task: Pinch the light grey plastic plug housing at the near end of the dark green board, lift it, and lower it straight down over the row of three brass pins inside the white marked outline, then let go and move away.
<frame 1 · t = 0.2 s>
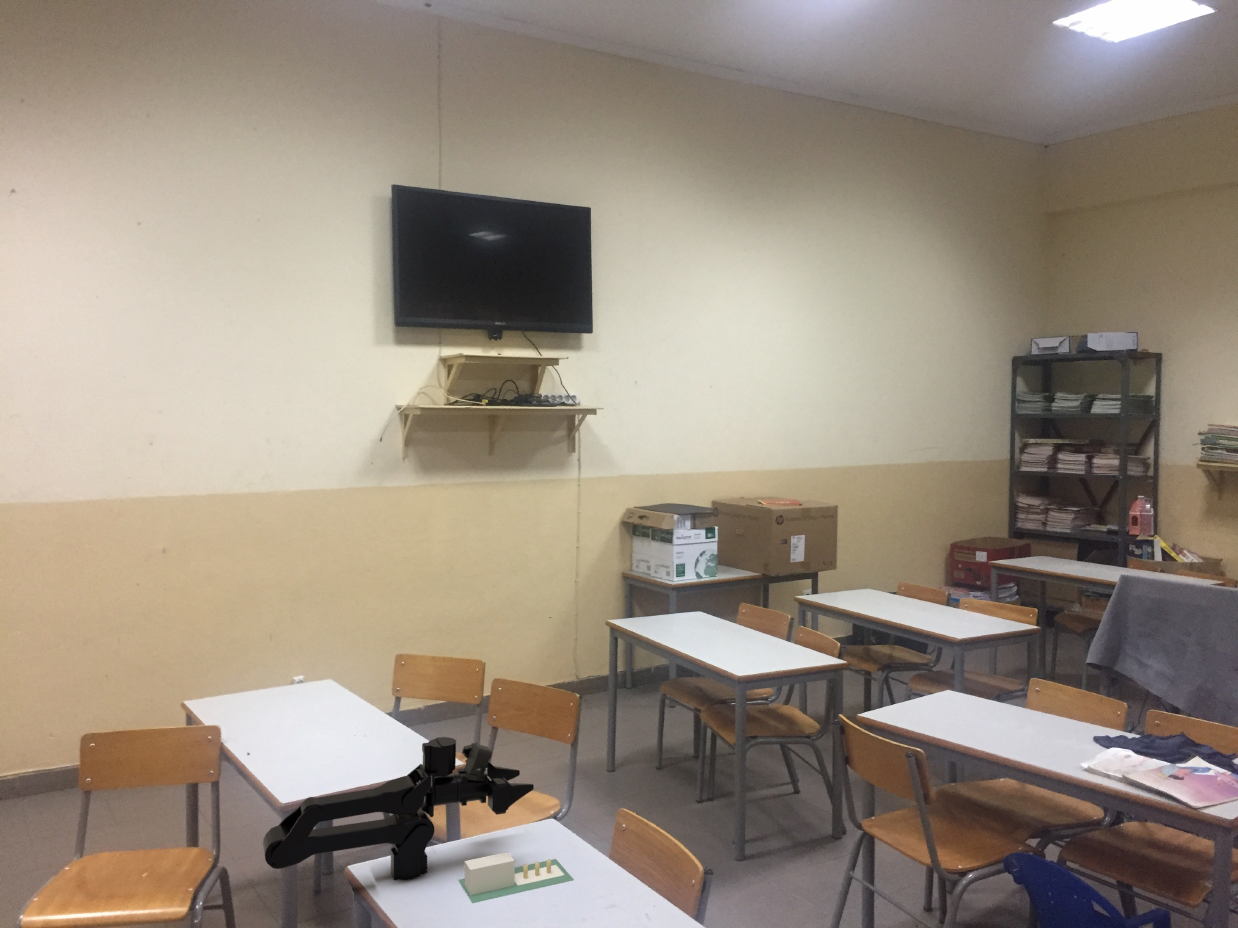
hand: (526, 779, 197), 16 cm above the table, tool horizontal, fingers open, 9 cm apart
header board: (516, 884, 185), on the table
plug housing: (489, 885, 182), point 1 cm above the table, touching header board
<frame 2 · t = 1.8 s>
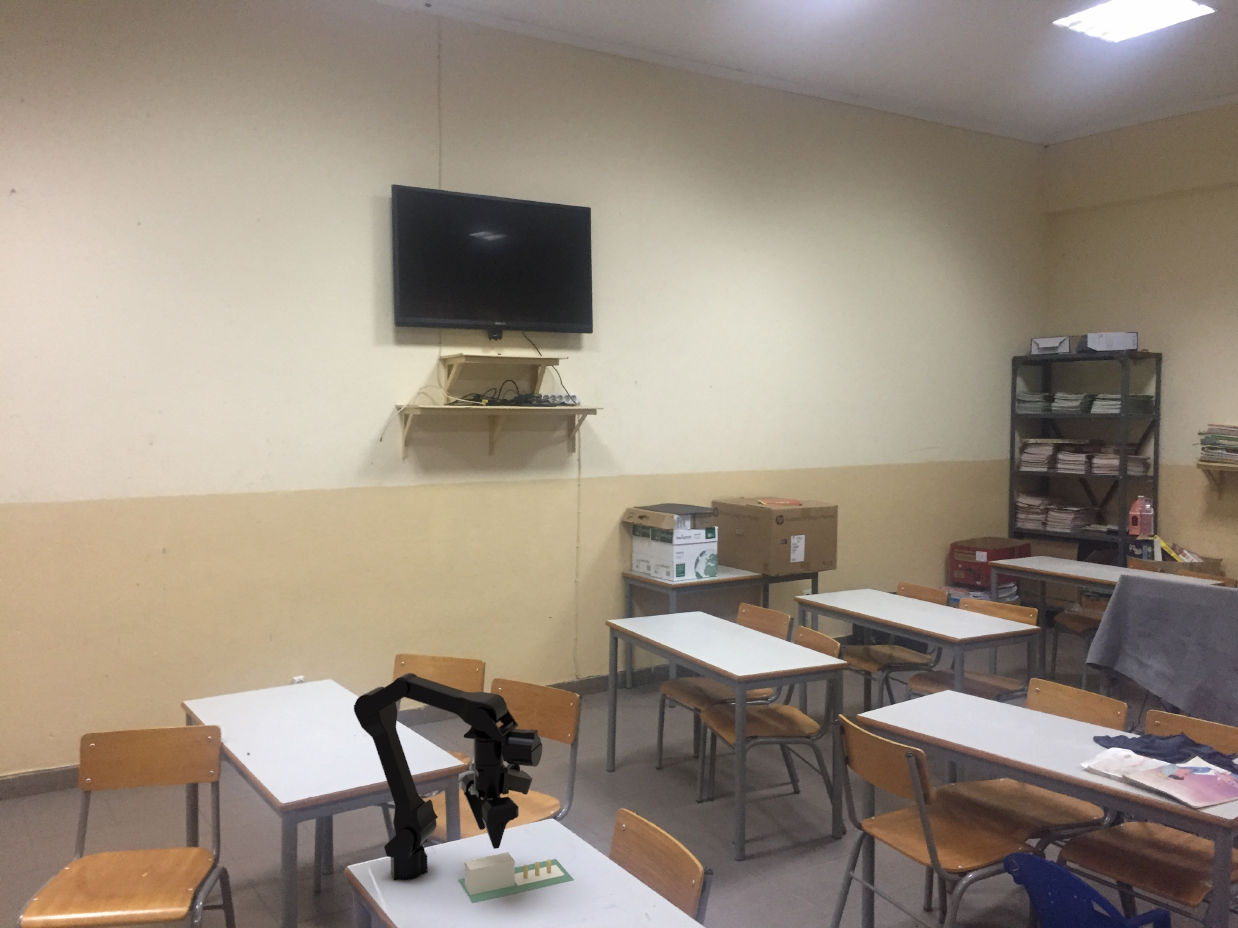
hand: (489, 838, 182), 10 cm above the table, tool pointing down, fingers open, 9 cm apart
nothing on the table moved.
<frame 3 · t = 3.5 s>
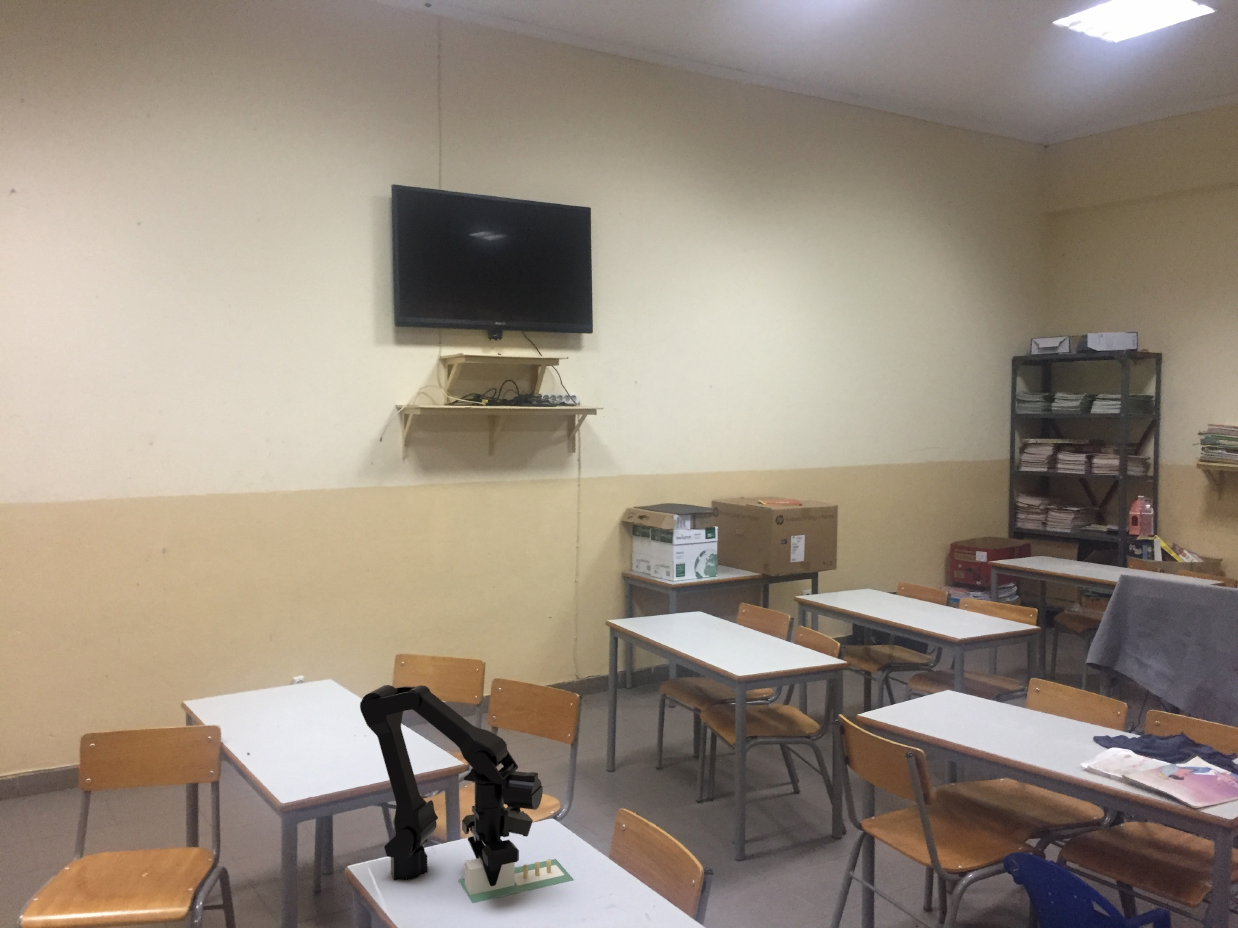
hand: (489, 880, 182), 2 cm above the table, tool pointing down, fingers closed on plug housing, 4 cm apart
plug housing: (489, 885, 182), point 1 cm above the table, touching gripper, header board
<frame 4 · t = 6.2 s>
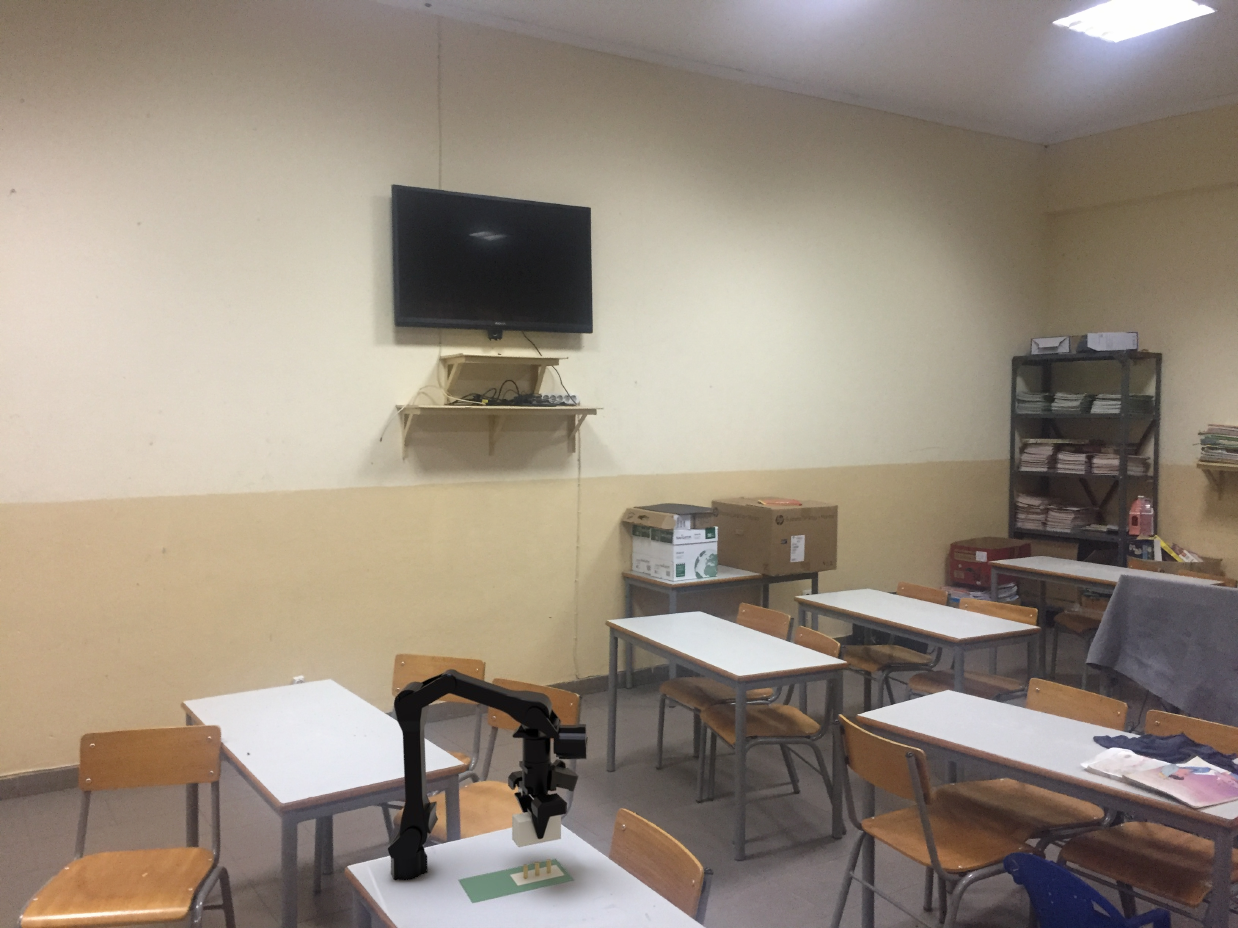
hand: (536, 834, 186), 9 cm above the table, tool pointing down, fingers closed on plug housing, 4 cm apart
plug housing: (536, 838, 186), point 8 cm above the table, touching gripper
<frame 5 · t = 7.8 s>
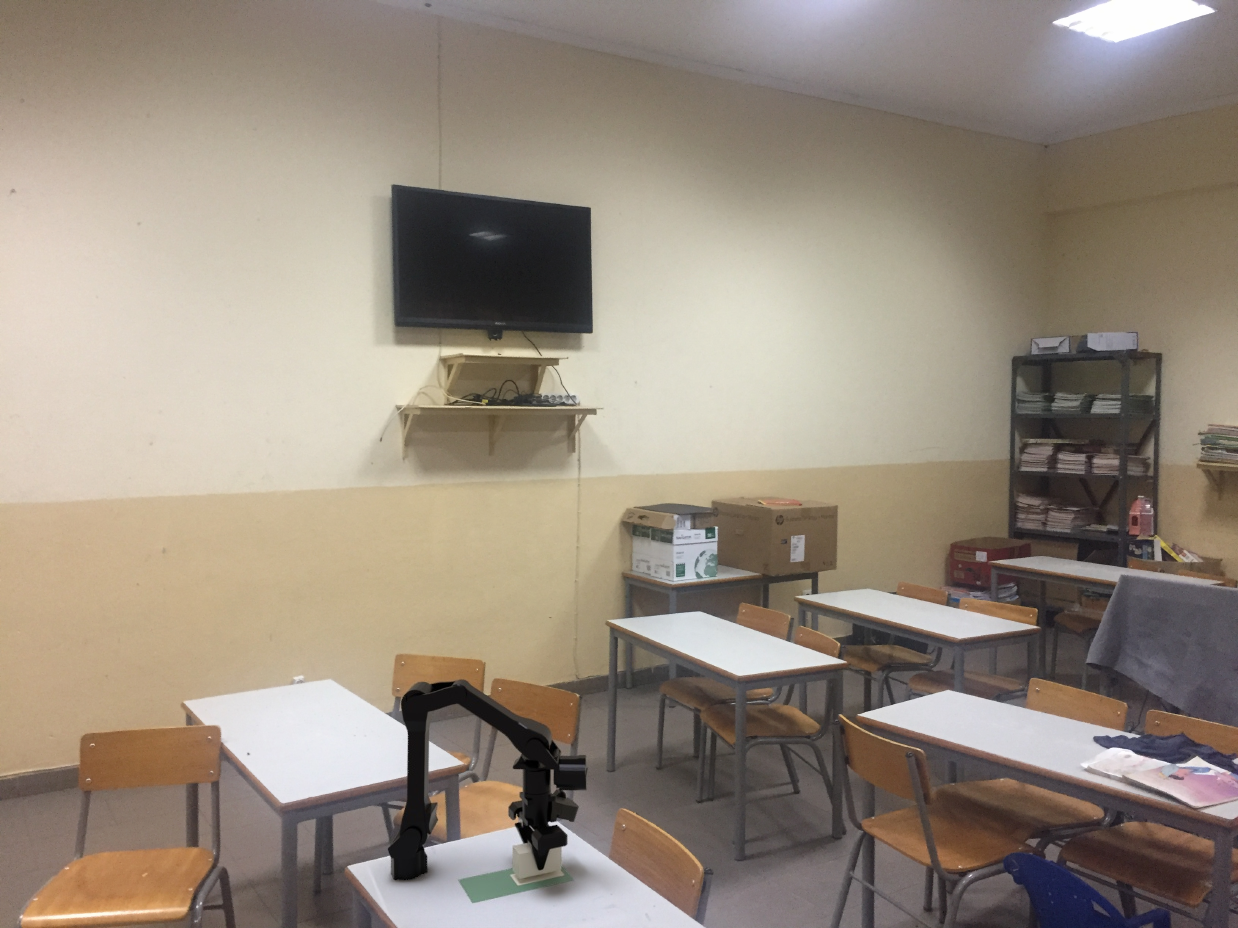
hand: (536, 864, 187), 3 cm above the table, tool pointing down, fingers closed on plug housing, 4 cm apart
plug housing: (537, 869, 187), point 2 cm above the table, touching gripper
when the fingers open (2 cm above the table, at t = 9.1 s): plug housing stays where it is, resting on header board.
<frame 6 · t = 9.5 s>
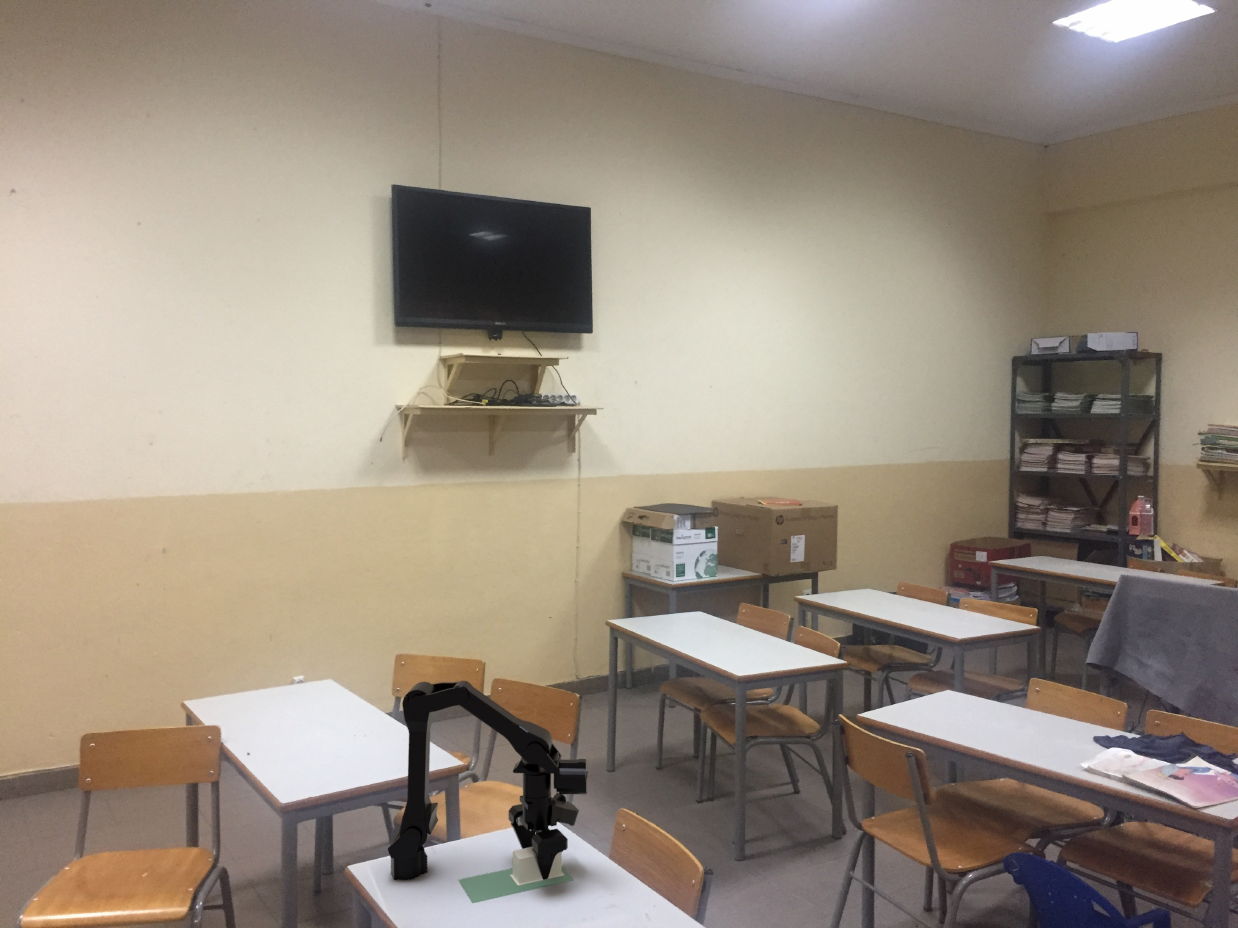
hand: (537, 868, 187), 2 cm above the table, tool pointing down, fingers open, 9 cm apart
plug housing: (537, 874, 187), point 1 cm above the table, touching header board
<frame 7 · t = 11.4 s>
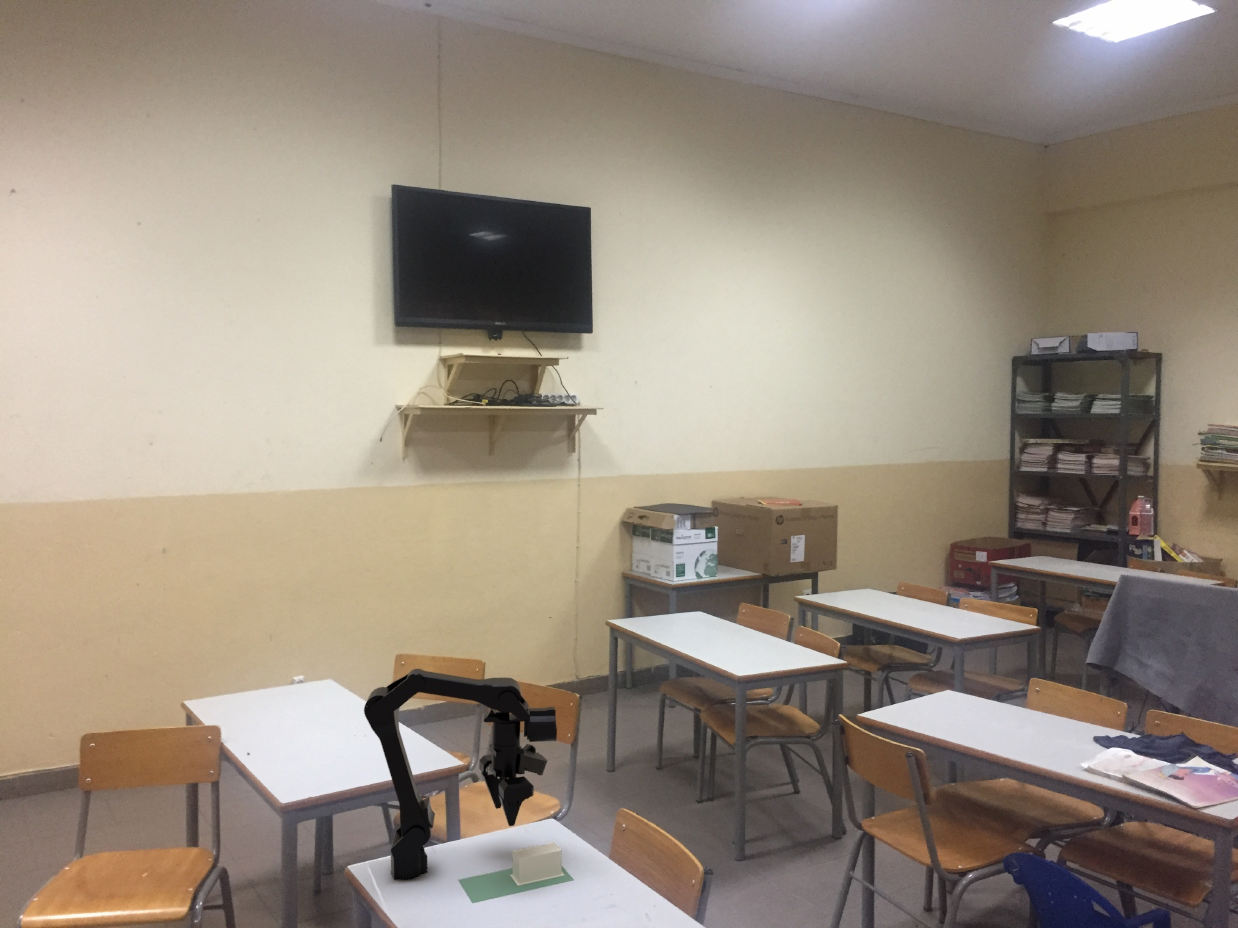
hand: (504, 816, 190), 12 cm above the table, tool pointing down, fingers open, 9 cm apart
nothing on the table moved.
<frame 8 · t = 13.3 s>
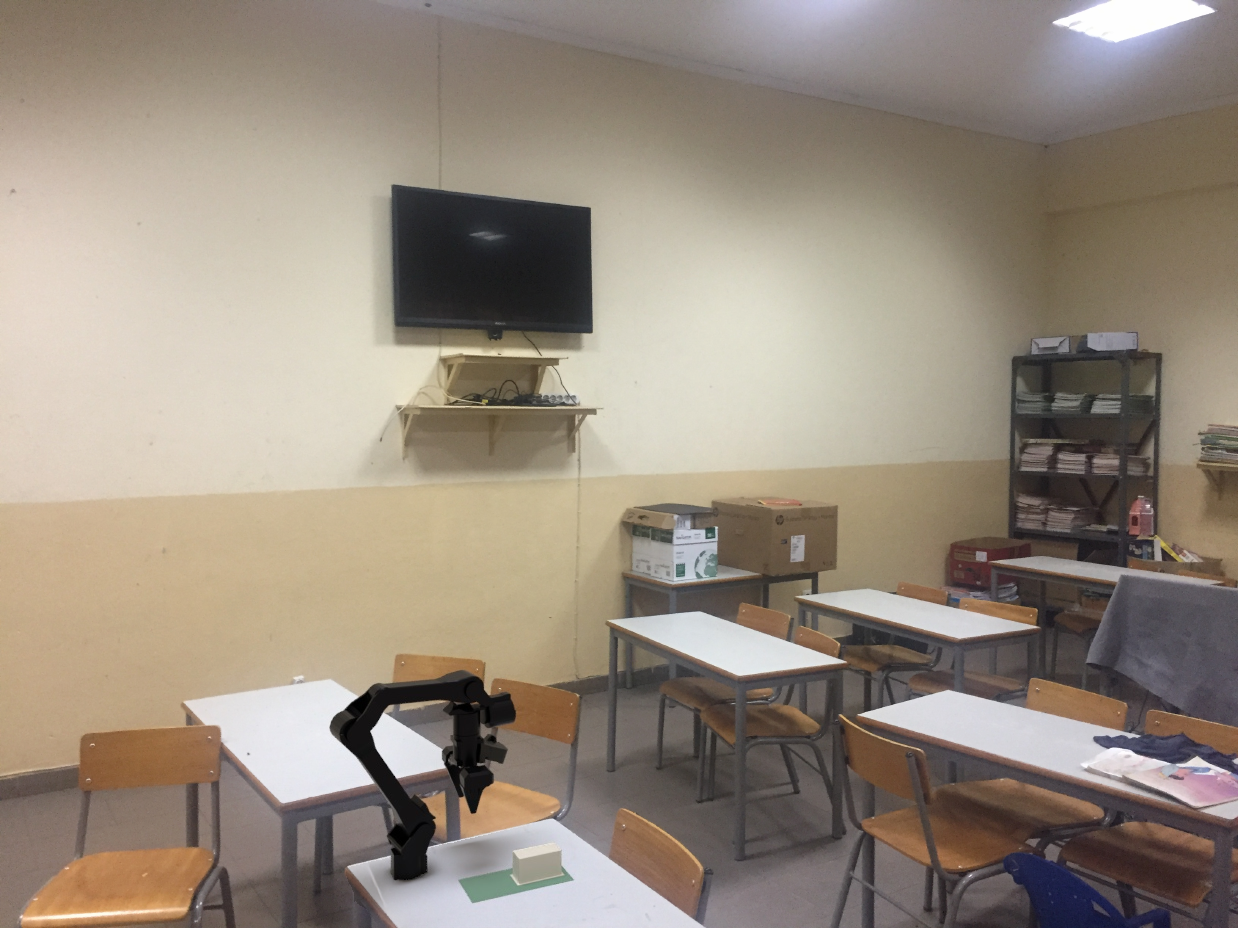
hand: (467, 804, 194), 12 cm above the table, tool pointing down, fingers open, 9 cm apart
nothing on the table moved.
at the end: plug housing 0.0 cm from the target spot on the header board, point 1.1 cm above the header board's base; plug housing tilted 0°; the gripper is holding nothing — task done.
